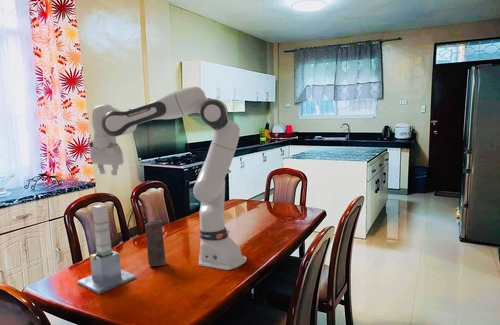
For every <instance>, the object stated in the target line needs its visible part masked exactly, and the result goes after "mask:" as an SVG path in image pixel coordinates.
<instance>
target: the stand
mask: <svg viewBox="0 0 500 325" xmlns="http://www.w3.org/2000/svg"><path fill="white" fill-rule="evenodd" d="M89 261H90V270H91V275H89V276H85V277H84V278H81V279H79V280H77V284H78V285H79V286H82V287H84V288H86V290H89V291H92V292H93V293H95V294H97V295H101V294H102V293H103V294H104V293H106V292H108V291H110V290H113V289H114V288H117V287H119V286H122V285H123V284H125V283H128V282H130V281H133V280H135V279H137V276H136V274H134V273H131V272H128V271H127V270H123V269H121V260H120V253H119V252H117V251H114V250H112V255H109V256H106V257H104V258H100V257H97V253H96V252H95V253H93V254H90V255H89Z"/></svg>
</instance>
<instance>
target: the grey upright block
mask: <svg viewBox="0 0 500 325" xmlns="http://www.w3.org/2000/svg"><path fill="white" fill-rule="evenodd" d="M144 228H145V237H146V251H147V261H148V265H149V266H151V267H158V266H165V265H166V264H167V261H166V252H165V242H164V231H163V222H162V220H159V219H158V220H156V219H155V220H150V221H148V222H146V223H145V224H144Z"/></svg>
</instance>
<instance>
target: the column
mask: <svg viewBox="0 0 500 325" xmlns="http://www.w3.org/2000/svg"><path fill="white" fill-rule="evenodd" d="M91 209H92V218H93V222H92V224H93V227H94V228H93V231H94V237H95V238H94V239H95V247H96V250H95V251H96V252H95V254H96V253H97V257H100V258H104V257H106V256H109V255H112V251H113V249H112V241H111V232H110V231H111V227H110V225H109V224H110V220H109V212H108V210H109V209H108V204H104V203H100V204H97V205H92V206H91Z"/></svg>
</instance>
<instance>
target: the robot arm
mask: <svg viewBox="0 0 500 325" xmlns="http://www.w3.org/2000/svg"><path fill="white" fill-rule="evenodd" d="M228 113H229V112H228V107H227V105H226V103H224V102H223V101H222V100H220V99H217V98H210V97H207V96H206V94H205V92H204V90H203V89H202V88H201V87H199V86H190V87H186V88H181V89H178V90H175V91H172V92H170V93H167V94H165V95H163V96H162V97H159V98H157V99H156V100H154V101H152V102H149V103H147V104H145V105H141V106H139V107H136V108H135V107H134V108H132V109H129V110H126V111H123V110H119V109H117V108H115V107H114V106H112V105H111V104H101V105H96V106H95V107H94V108H93V109H92V113H91V119H92V121H91V123H92V124H91V125H92V128H93V139H92V140H91V141H89V143H88V147H89V148H90V149H89V153H90V160H91V162H92V163H93V164H95V165H96V164H97V168H98V170H99V173H100V174H101V175H104V174H106V169H105V168H104V165H109V166H111V168H112V171H111V175H112V176H117V175H118V170H119V166H120V165H123V164H124V155H123V154H124V153H123V151H122V148H121V146H120V145H119V143H117V137H119V136H122V135H123V136H125V135H129V134H132V133H134V132H135V131H136V129H137V127H138V125H140V124H143V123H145V122H150V121H153V120H173V119H179V118H183V117H186V116H189V115H191V114H199V115H200V118H201V120H202V122H204V123H205V124H206V125H208V126H209V127H210V128H212V129H213V130H214V132H213V137H212V139H211V143H210V145H209V148H208V152H207V155H206V158H205V160H204V163H203V164H202V167H201V168H200V171H199V172H198V176H197V178H196V181H195V182H194V186H193V187H192V188H193V189H192V193H193V196H194V198H195V199H196V200H197V201H198V202H200V207H199V225H200V226H199V238H200V244H199V245H200V246H199V255H198V266H202V267H205V268H206V267H207V268H213V269H218V270H224V271H229V270H233V269H236V268H239V267H240V266H242V265H243V264H245V263H246V262H247V259H248V258H247V256H245V255H243V254H242V250H241V247H240V246H239V245H238V244H237V243H236V242H235V241H234V240H233V239H232V238H231V237H230V236H229V234H230V231H231V230H227V227H226V224H225V199H226V198H225V197H226V179H225V178H226V176H227V174H228V172H229V170H230V167H231V165H232V162H233V159H234V156H235V153H236V150H237V147H238V143H239V140H240V134H241V128H240V126H239V125H238V124H237V123H236V122H235V121H232V120H230V119H229V117H228Z"/></svg>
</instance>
